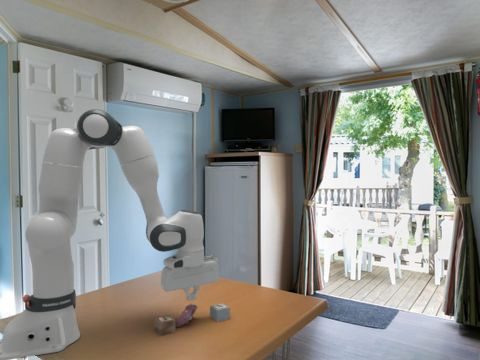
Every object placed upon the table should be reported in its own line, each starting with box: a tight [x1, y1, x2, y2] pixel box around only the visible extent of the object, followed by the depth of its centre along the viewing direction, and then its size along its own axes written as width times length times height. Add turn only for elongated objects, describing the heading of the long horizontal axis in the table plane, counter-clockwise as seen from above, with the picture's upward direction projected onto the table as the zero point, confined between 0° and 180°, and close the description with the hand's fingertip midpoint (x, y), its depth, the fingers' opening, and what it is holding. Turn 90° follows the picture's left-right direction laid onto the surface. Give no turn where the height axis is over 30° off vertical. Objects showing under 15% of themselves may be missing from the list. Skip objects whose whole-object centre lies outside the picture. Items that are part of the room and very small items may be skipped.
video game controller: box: [174, 303, 198, 328], centre depth 124 cm, size 10×5×7 cm, turn 169°
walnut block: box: [154, 315, 176, 337], centre depth 117 cm, size 5×5×4 cm
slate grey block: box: [209, 303, 231, 323], centre depth 128 cm, size 5×5×4 cm
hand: (191, 299), depth 124 cm, fingers closed
